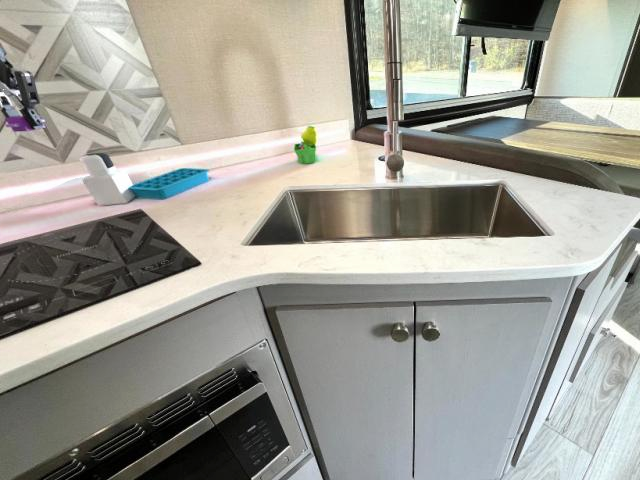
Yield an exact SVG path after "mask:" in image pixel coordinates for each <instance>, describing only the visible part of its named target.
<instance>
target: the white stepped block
mask: <svg viewBox="0 0 640 480" xmlns="http://www.w3.org/2000/svg"><path fill="white" fill-rule="evenodd" d="M79 162H80V163H81V165H82V167H83V168H84V170H85V171H86V173H87V174H88V175H87V176H85V177H84V178H82V179H81V180H82V181H81V182H83V184H84V185H85V187H86V189H87V190H88V192H89V193H90V195H91V196H92V198H93V200H94V201H95V203H96V204H97V206H99V207H101V206H103V207H104V206H112V205H113V206H114V205H125V204H128V203H130V202H131V201H132V200H133V199H135V198H137V196H136V194H135V193H134V191H133V190H132V189H128V188H129V187H130V186H132V185H133V184H134V183H133V182H132V180H131V178H130V176H129V175H128V173H127V171H126V170H125V169H117V168H116V166H115V165H114V163H113V161H112V159H111V157H110V155H109V154H107V153H104V152H93V153H88V154H84V155H81V156H80V157H79Z"/></svg>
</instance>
